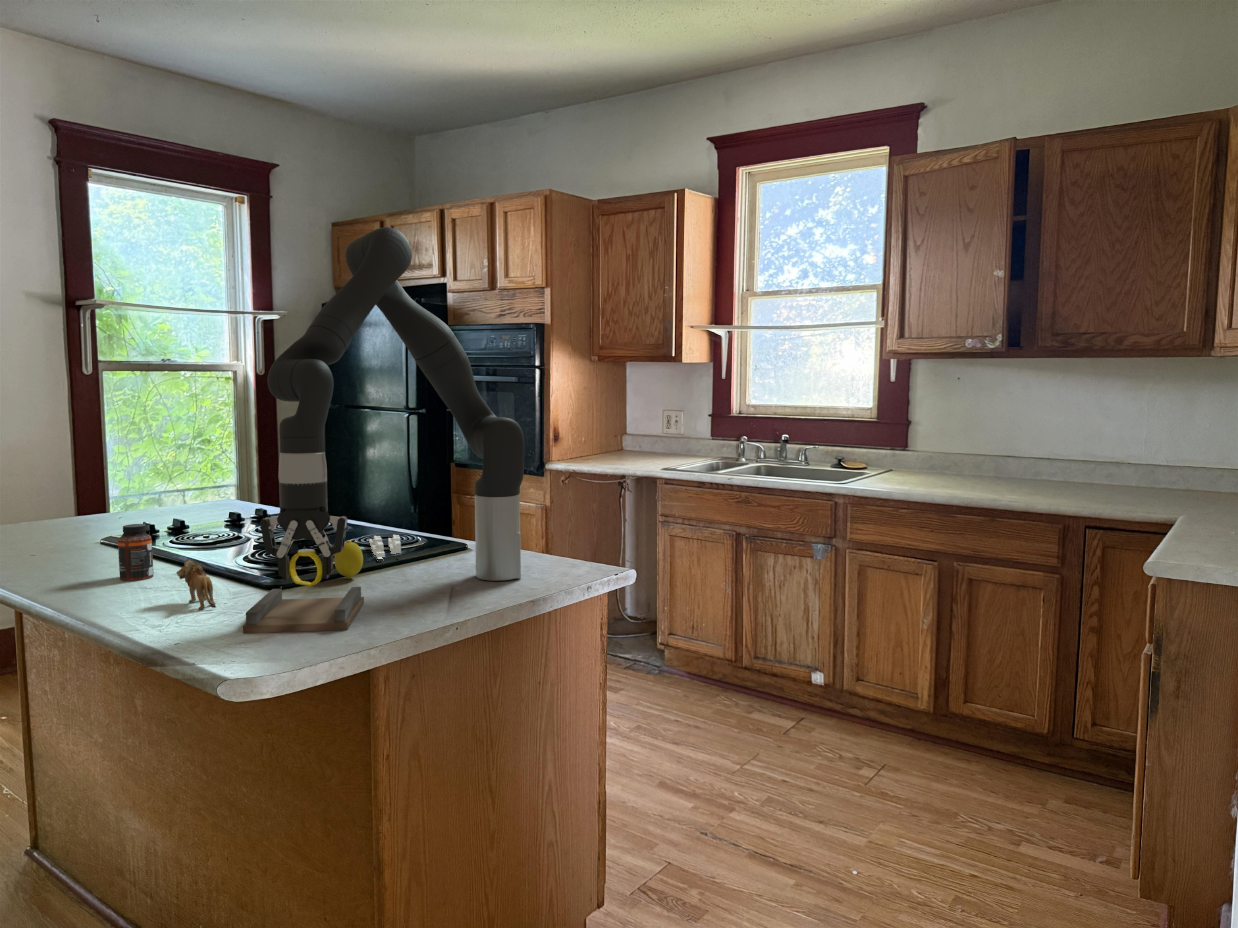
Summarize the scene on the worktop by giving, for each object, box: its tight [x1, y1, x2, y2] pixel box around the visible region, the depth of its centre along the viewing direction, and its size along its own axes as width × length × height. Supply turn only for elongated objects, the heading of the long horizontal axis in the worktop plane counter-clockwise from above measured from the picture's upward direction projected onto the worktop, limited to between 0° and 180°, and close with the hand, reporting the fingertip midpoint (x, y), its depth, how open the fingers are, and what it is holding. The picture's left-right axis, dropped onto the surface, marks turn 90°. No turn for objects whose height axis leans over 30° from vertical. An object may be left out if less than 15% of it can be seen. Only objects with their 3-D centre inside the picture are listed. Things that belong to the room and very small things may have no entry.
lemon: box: [334, 539, 364, 580], centre depth 172 cm, size 6×6×8 cm
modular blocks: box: [368, 534, 402, 560], centre depth 195 cm, size 20×7×4 cm, turn 21°
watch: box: [289, 548, 323, 587], centre depth 142 cm, size 6×3×6 cm, turn 73°
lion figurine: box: [175, 560, 217, 611], centre depth 151 cm, size 12×4×7 cm, turn 49°
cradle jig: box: [242, 586, 365, 634], centre depth 143 cm, size 16×17×3 cm
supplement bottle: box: [117, 523, 154, 582], centre depth 169 cm, size 6×6×11 cm
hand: (305, 577), depth 143 cm, fingers closed on watch, 6 cm apart
